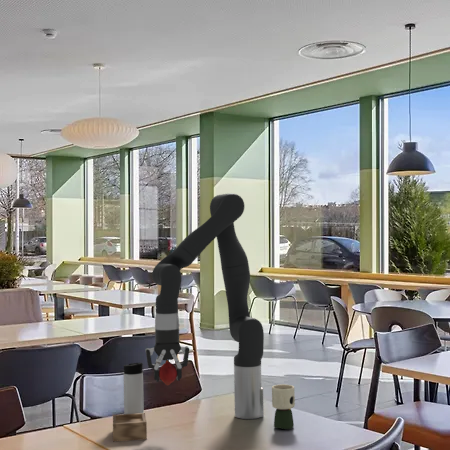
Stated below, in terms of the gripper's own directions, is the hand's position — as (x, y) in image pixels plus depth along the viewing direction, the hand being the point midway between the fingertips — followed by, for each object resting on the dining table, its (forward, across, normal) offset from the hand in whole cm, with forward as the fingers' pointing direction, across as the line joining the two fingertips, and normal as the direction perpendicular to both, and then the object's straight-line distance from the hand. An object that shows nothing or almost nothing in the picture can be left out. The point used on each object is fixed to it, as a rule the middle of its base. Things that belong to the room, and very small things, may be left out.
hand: (167, 380), depth 203 cm
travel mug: (+16, +10, -10) cm, 22 cm away
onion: (+2, 0, 0) cm, 2 cm away
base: (+16, +12, +2) cm, 20 cm away
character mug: (+16, -36, +6) cm, 40 cm away
